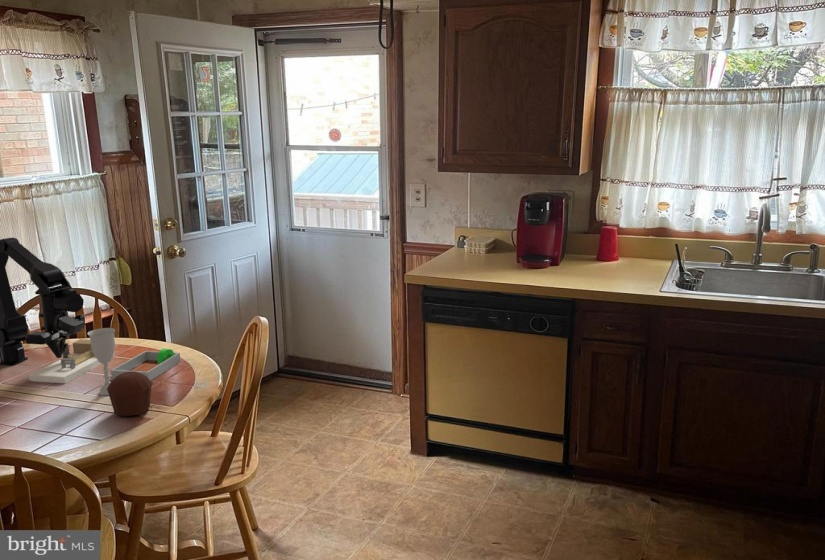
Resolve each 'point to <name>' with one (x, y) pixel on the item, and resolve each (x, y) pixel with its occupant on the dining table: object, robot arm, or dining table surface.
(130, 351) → the dining table surface
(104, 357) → the chalice
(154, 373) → the frame
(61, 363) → the door board
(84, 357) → the bolt
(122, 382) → the muffin
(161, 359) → the mechanical part
